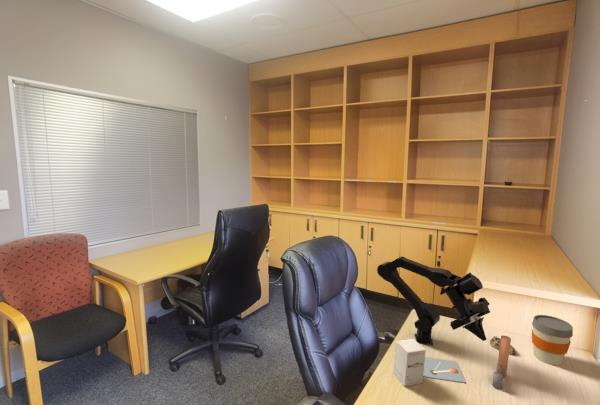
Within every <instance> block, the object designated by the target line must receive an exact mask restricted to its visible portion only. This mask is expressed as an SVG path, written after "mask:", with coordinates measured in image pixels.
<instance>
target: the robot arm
mask: <svg viewBox="0 0 600 405" xmlns="http://www.w3.org/2000/svg"><path fill="white" fill-rule="evenodd" d="M399 268H401V269H404V270H405V271H406V270H407V271H409V272H412V273H414V274H416V275H419V276H422V277H423V278H426V279H427V280H429V281H430V283H432V284H434V285H436V286H438V287H439V288H440V292H439V294H440V295H441V296H442V295H446V296H447V298H448V299H449V301H450V302H451V303H452V305H453V306H451V308H452V309H453V310H456V312H457V314H458V315H459V316H458V318H456V319H454V320H451V321H450V324H449V326H450V327H451V329H452V330H453V331H454V330H456V329H459V328H462V329H465V330H467V331H468V332H470V333H471V334H473V335H474V336H476V337H477V338H478V339H480V340H481V341H482V342H484V341H487V336H486V333H485V330H484V327H483V321H484V319H485V317H483V316H486V315H488V314H490V313H491V310H490V308H489V305H490V302H489V301H488V300H487V298H485V297H480V298H478V300H477V301H473V300H472V299H471V298H467V296H470V295H472V294H474V293H476V292H478V291H479V290H482V289H483V287H484V286H483V283H482V281H481V280H480V279H479V277H477V276H476V275H475V274H472V273H471V272H468V273H467V274H465V275H463V276H462V277H461V276H459V275H457V274H454V273H452V271H450V270H448V269H445V268H441V267H440V268H439V267H430V266H428V265H425V264H422V263H420V262H417V261H414V260H412V259H409V258H407V257H405V256H402V255H401V256H399V257H396V258H394V260H392V261H385V262H383V263H381V264H379V265H378V266H377V267H376V273H377V274H378V276H379V277H380V278H382V279H383V280H384V281H386V282H388V283H389V284H391V285H392V286H393V287H394V288H395V289H396V290H397V291H398V293H399V294H400V295H401V296H402V297H403V298H404V299H405V301H407V303H408V304H409V305H410V306H411V307H412V308H413V309H414V312H415V314H416V316H417V320H416V321H414V322H413V323H414V327H415V328H416V333H414V338H415V341H416V342H418V343H419V344H424V345H430V346H431V345H432V346H433V345H434V342H433V340H432V332H433V328H434V326H436V324H437V323H439V321H440V319H441V315H440V313H439V309H437V308H436V307H435V306H434V305H433V304H432V303H431V302H430V303H425V301H424V300H422V299H421V298H420V296H418V295H417V293H415V291H414V290H413V289H412V288H411V287H410V286H409V285H408V284H407V283H406V282H405V281H404V279H403V278H402V277H401V276H400V273H399V270H398V269H399ZM466 295H467V296H466Z"/></svg>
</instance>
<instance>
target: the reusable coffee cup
mask: <svg viewBox="0 0 600 405" xmlns="http://www.w3.org/2000/svg"><path fill="white" fill-rule="evenodd" d="M531 325H532V329H531V343H532V345H533V346H532V348H533V349H532V350H533V356H534V357H535V358H536V359H537V360H538V361H541V362H542V363H544V364H547V365H551V366H561V365H562V363H563V360H564V359H565V355H566V354H568V351H569V349H570V345H571V342H572V340H571V338H572V337H573V336H574V335H573V334H574V327H573V325H571V323H569V322H568V321H565V320H564V319H561V318H558V317H555V316H552V315H545V314H537V315H534V316H533V319H532V321H531Z"/></svg>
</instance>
